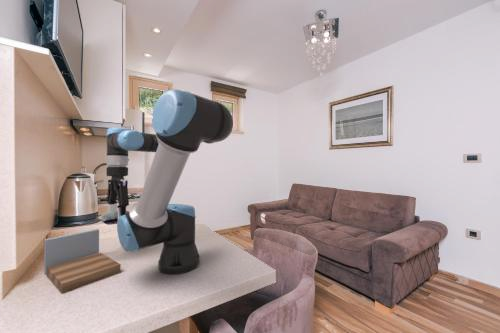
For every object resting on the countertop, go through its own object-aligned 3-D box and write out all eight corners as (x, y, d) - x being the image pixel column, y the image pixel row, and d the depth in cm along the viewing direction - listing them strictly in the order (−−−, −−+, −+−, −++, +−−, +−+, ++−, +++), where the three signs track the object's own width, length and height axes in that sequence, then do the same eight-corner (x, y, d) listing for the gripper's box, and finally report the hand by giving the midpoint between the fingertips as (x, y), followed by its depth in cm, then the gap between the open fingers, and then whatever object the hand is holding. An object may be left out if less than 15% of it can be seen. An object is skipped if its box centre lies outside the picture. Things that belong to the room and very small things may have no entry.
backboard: (98, 259, 87) (99, 229, 87) (45, 274, 74) (45, 240, 74) (97, 257, 88) (97, 229, 88) (44, 273, 75) (44, 239, 75)
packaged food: (96, 223, 85) (96, 211, 85) (129, 218, 94) (129, 207, 94) (102, 228, 79) (102, 214, 79) (136, 222, 88) (136, 210, 88)
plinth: (120, 272, 75) (120, 264, 75) (61, 294, 62) (61, 283, 62) (100, 260, 86) (100, 252, 86) (46, 276, 73) (46, 267, 73)
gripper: (139, 166, 83) (138, 224, 82) (117, 166, 96) (117, 216, 96) (117, 166, 77) (117, 228, 77) (97, 166, 90) (97, 219, 90)
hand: (117, 221), depth 86 cm, fingers closed on packaged food, 9 cm apart
